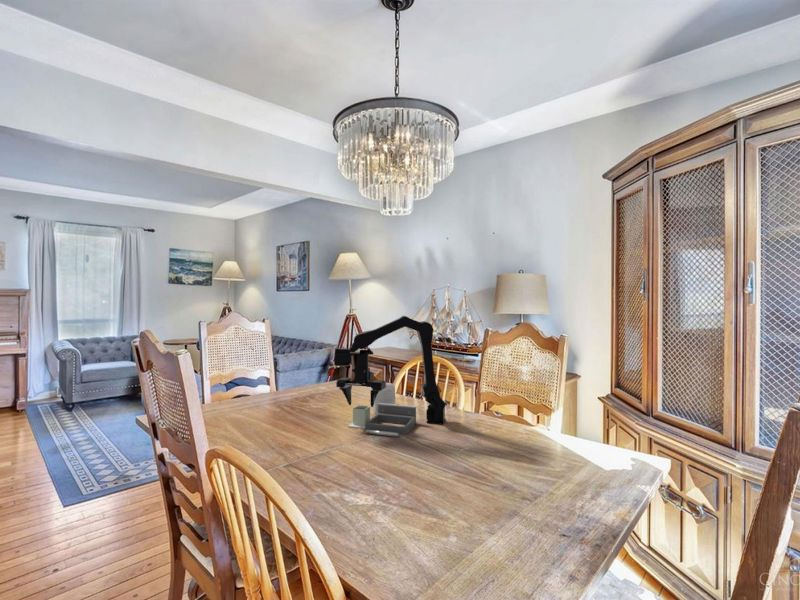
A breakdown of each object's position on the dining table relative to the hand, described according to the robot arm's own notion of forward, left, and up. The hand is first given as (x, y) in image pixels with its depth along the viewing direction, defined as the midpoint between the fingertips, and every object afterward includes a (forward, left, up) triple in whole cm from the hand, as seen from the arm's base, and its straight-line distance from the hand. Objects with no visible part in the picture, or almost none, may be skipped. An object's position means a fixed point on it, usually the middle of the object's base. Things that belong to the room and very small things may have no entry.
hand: (360, 405), depth 159 cm
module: (0, 0, -7) cm, 7 cm away
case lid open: (-12, -8, -7) cm, 16 cm away
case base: (-12, 0, -7) cm, 14 cm away
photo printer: (-3, -18, -7) cm, 20 cm away
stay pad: (0, 0, -7) cm, 7 cm away
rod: (-12, +9, -7) cm, 17 cm away
